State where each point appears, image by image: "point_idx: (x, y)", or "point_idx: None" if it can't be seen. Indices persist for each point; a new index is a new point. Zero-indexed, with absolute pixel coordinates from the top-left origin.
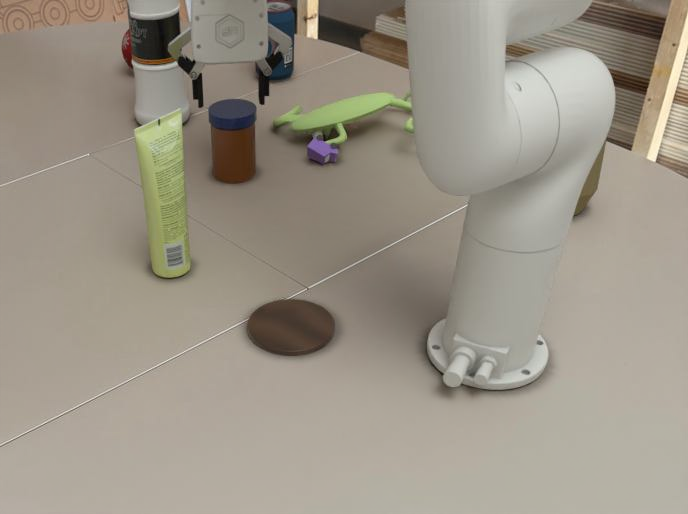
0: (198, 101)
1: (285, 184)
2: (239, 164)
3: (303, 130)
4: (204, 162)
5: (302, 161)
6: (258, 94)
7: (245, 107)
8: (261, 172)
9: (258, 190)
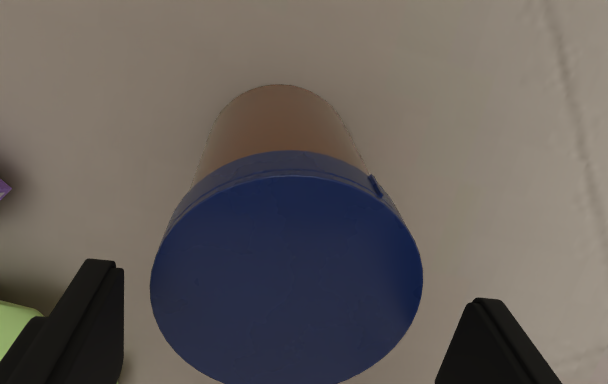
0: (516, 323)
1: (107, 27)
2: (274, 102)
3: (2, 302)
4: None
5: (36, 179)
6: (118, 366)
7: (214, 295)
8: (187, 139)
9: (216, 8)
